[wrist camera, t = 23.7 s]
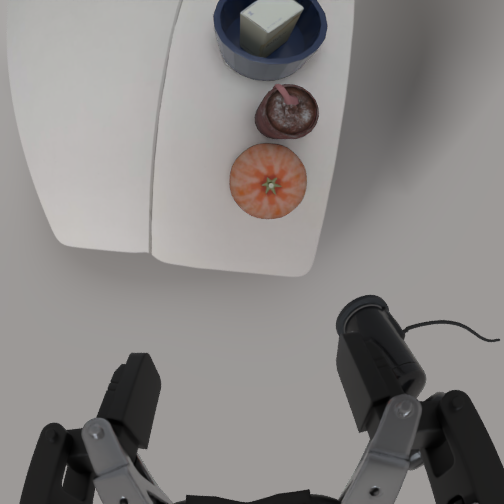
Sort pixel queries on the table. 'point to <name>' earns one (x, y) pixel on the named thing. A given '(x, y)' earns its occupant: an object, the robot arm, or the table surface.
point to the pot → (282, 59)
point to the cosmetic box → (267, 25)
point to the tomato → (268, 181)
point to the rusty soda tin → (287, 112)
